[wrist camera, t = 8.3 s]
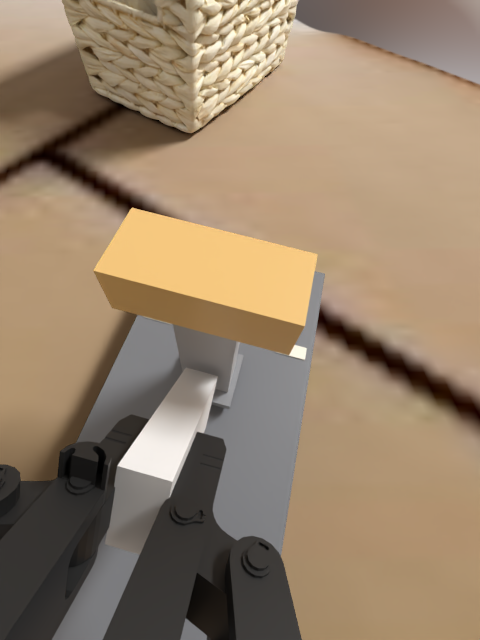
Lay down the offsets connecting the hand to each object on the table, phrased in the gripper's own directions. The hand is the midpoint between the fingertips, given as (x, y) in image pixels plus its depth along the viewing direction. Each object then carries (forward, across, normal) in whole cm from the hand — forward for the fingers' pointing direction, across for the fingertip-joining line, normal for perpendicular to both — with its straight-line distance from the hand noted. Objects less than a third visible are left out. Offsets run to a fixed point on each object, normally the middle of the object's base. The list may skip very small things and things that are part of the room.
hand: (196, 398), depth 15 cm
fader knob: (+3, 0, 0) cm, 3 cm away
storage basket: (+32, +13, -24) cm, 42 cm away
